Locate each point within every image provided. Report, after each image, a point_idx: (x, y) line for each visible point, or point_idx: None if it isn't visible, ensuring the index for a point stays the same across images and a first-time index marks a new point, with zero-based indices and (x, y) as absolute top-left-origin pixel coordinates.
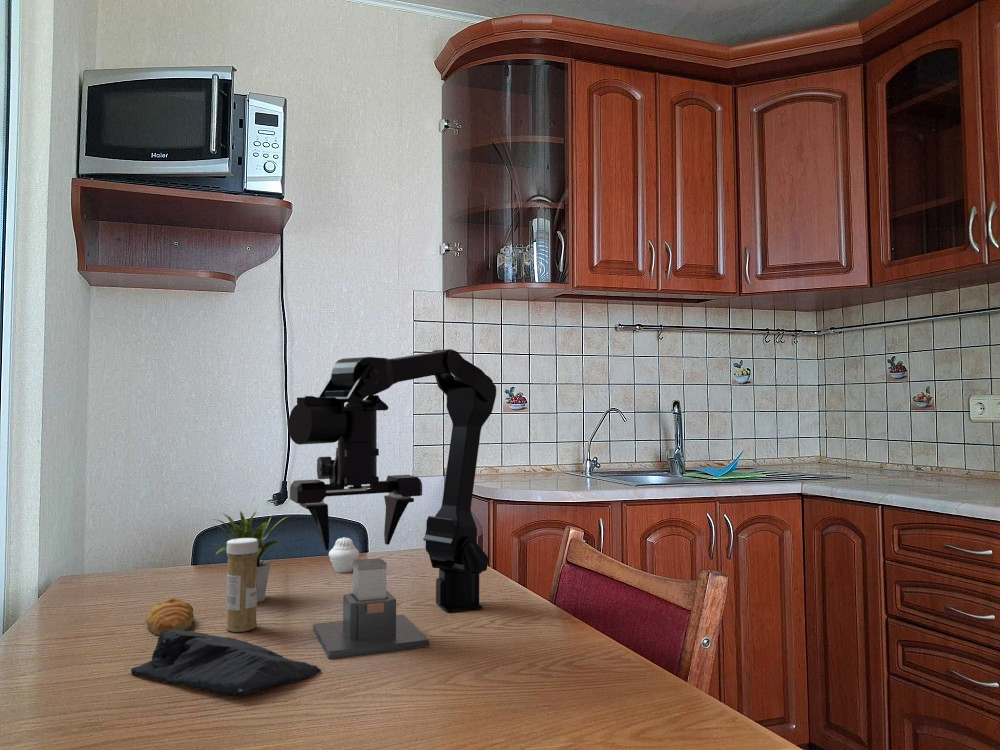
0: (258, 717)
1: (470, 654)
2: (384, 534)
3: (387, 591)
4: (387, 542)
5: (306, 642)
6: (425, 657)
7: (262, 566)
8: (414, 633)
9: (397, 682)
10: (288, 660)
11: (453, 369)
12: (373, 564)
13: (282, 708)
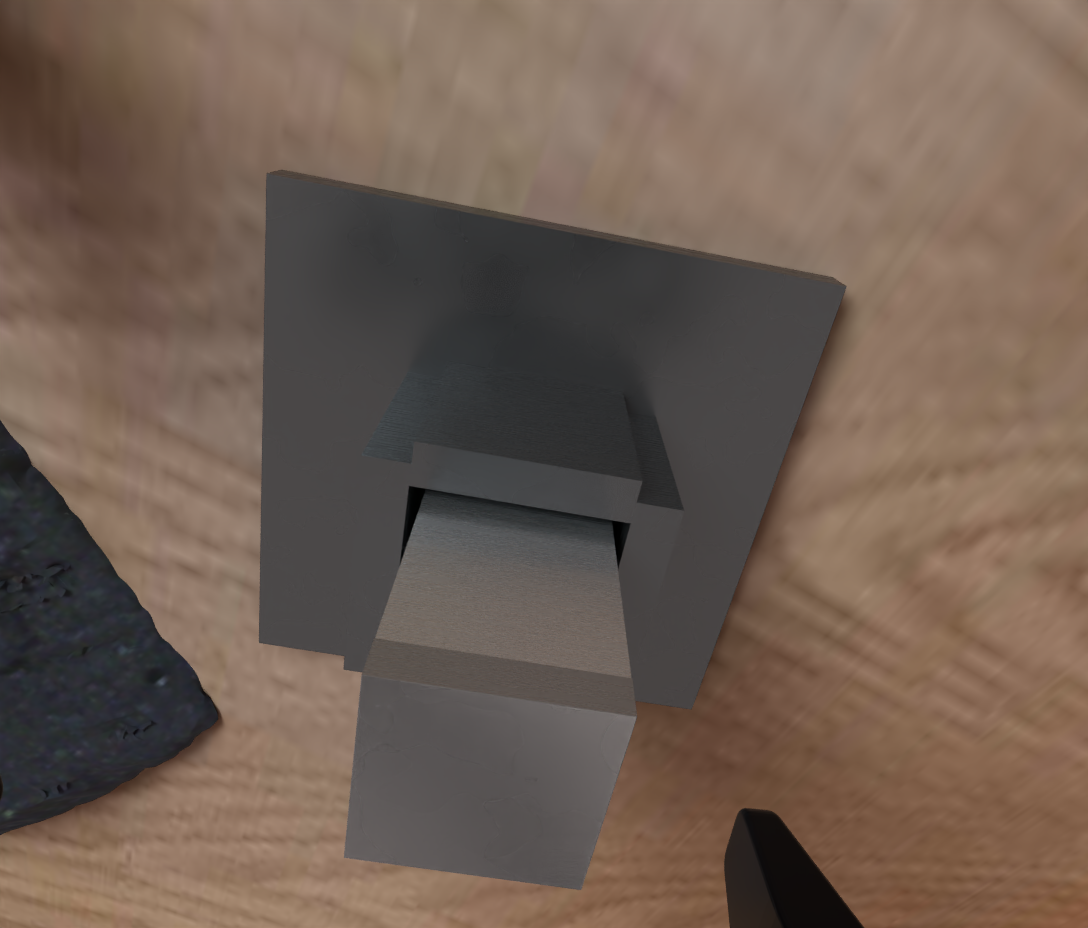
0: (14, 894)
1: (763, 807)
2: (767, 916)
3: (672, 534)
4: (728, 896)
5: (213, 367)
6: None
7: None
8: (687, 617)
9: (426, 876)
10: (62, 772)
11: None
12: (468, 874)
13: (77, 878)
